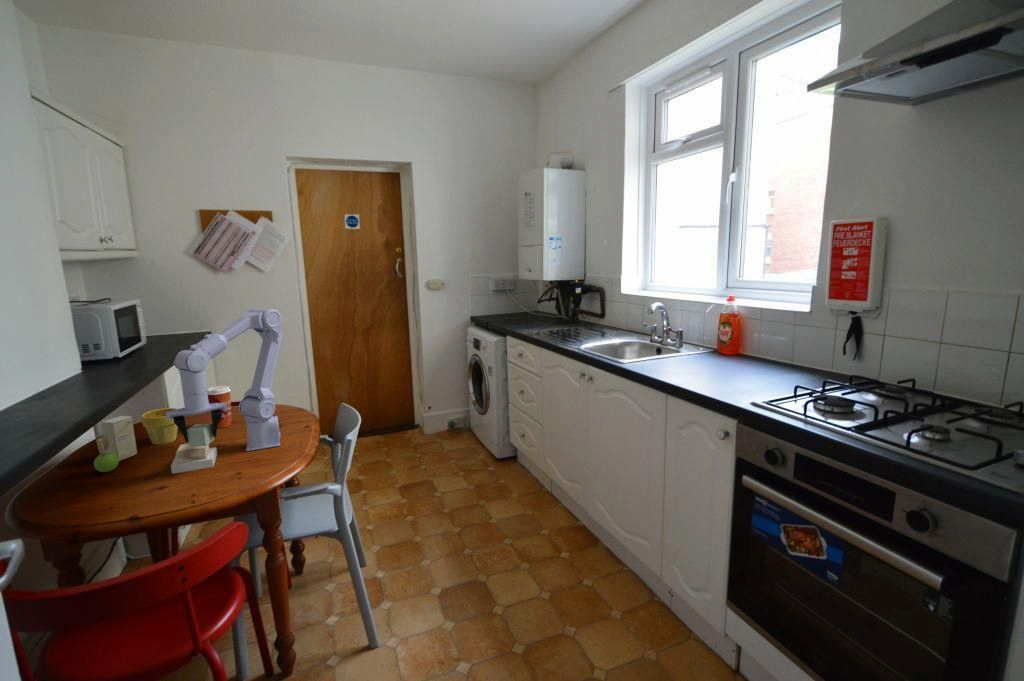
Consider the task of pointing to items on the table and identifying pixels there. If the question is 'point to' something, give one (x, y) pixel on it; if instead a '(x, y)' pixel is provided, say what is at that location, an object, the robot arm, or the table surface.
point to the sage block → (200, 435)
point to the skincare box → (120, 436)
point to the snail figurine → (105, 456)
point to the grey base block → (195, 463)
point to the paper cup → (220, 396)
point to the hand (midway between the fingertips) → (201, 438)
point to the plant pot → (160, 426)
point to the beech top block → (191, 453)
